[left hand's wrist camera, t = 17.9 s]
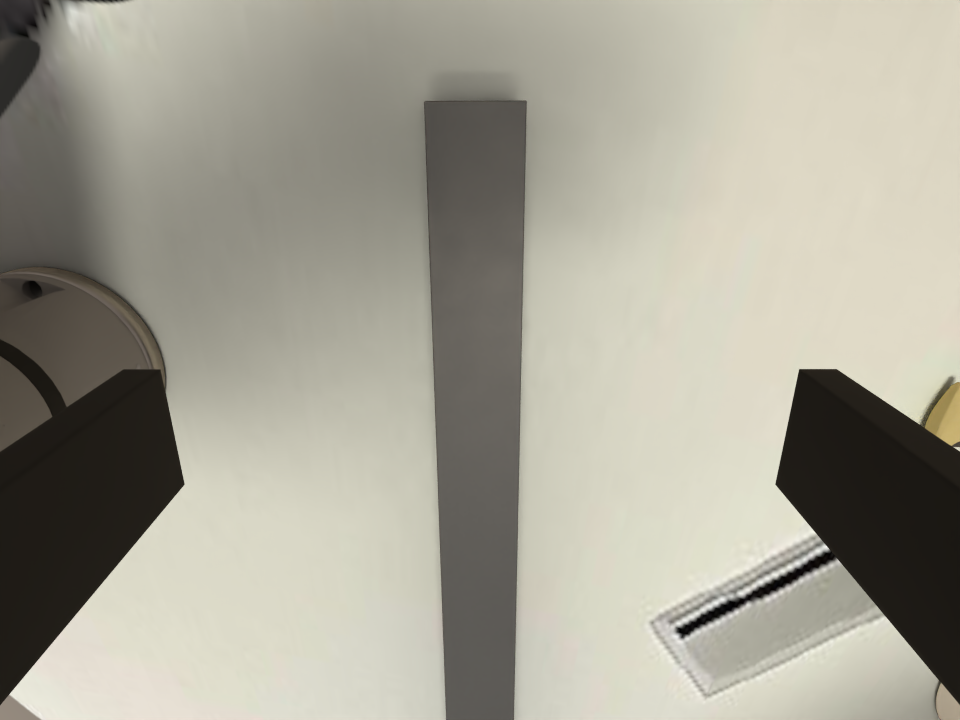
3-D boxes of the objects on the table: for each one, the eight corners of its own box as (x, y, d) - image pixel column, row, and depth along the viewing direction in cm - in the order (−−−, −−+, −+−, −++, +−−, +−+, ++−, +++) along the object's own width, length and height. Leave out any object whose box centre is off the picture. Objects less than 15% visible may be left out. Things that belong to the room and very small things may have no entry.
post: (433, 106, 40) (424, 101, 33) (518, 105, 39) (526, 100, 33) (457, 882, 69) (455, 966, 62) (505, 882, 69) (508, 965, 62)
